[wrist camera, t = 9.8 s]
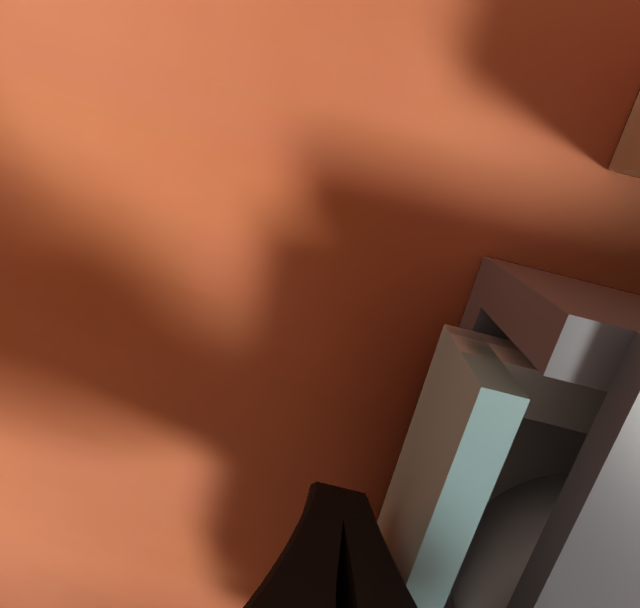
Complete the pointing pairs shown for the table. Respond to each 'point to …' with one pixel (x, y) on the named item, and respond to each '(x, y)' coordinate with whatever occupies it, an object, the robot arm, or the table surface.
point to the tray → (474, 452)
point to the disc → (505, 543)
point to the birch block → (629, 145)
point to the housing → (602, 439)
